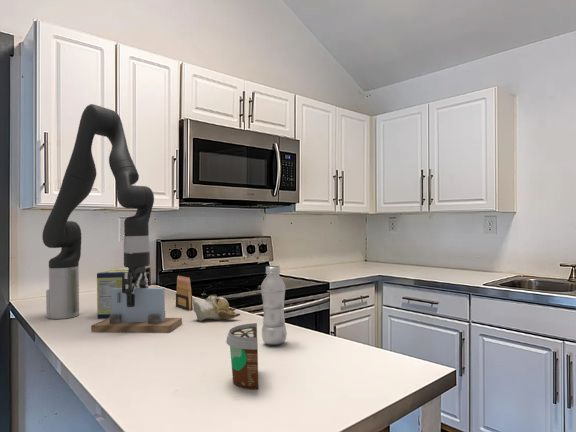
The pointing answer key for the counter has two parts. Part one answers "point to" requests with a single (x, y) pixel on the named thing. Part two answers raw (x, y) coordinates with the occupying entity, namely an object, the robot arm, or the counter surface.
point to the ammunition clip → (184, 293)
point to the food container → (244, 355)
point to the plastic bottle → (273, 307)
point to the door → (139, 304)
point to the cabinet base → (137, 325)
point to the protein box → (107, 289)
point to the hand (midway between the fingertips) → (137, 304)
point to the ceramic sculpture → (213, 308)
